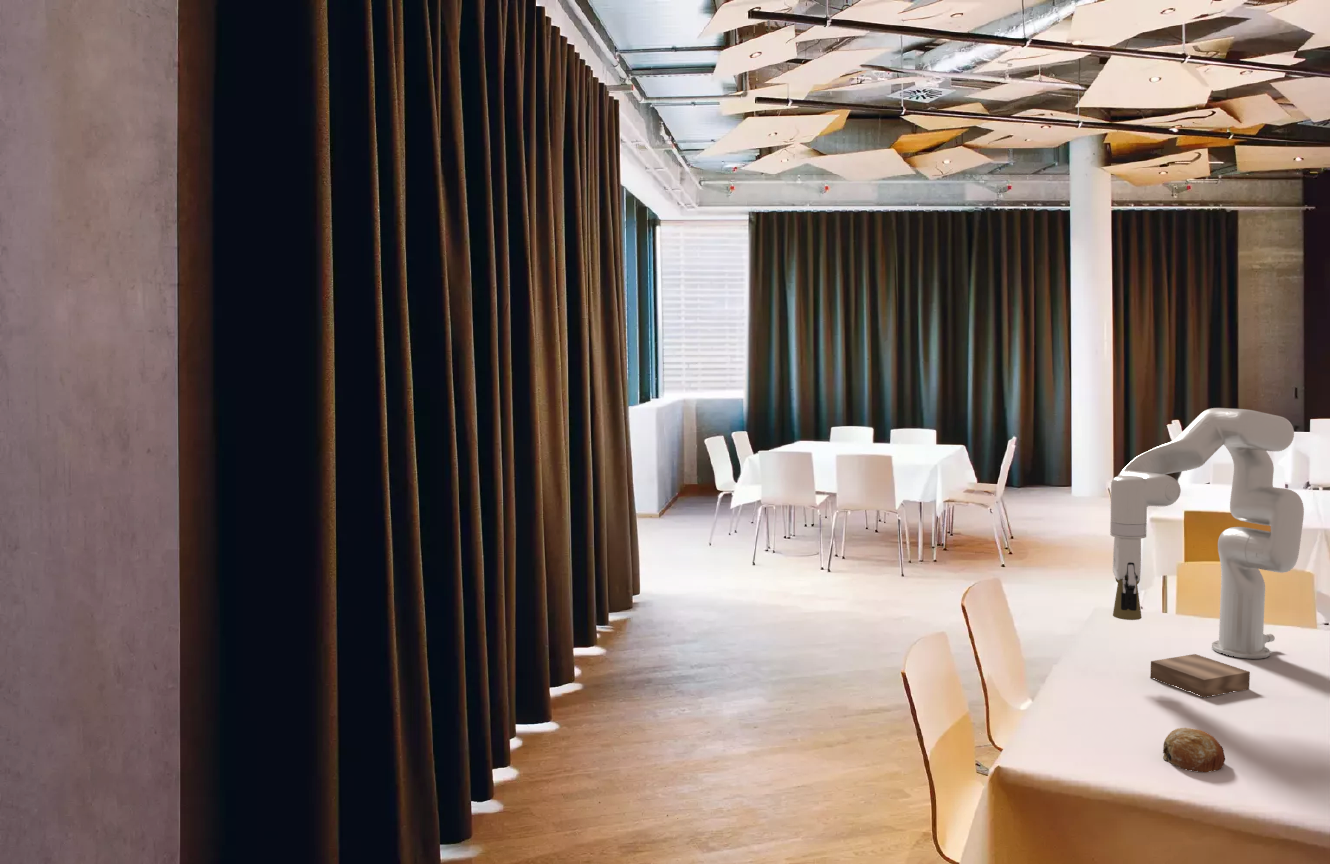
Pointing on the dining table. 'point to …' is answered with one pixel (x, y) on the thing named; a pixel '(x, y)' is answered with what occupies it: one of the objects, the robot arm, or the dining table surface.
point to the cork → (1127, 613)
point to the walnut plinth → (1200, 675)
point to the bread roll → (1193, 750)
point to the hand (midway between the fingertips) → (1127, 606)
